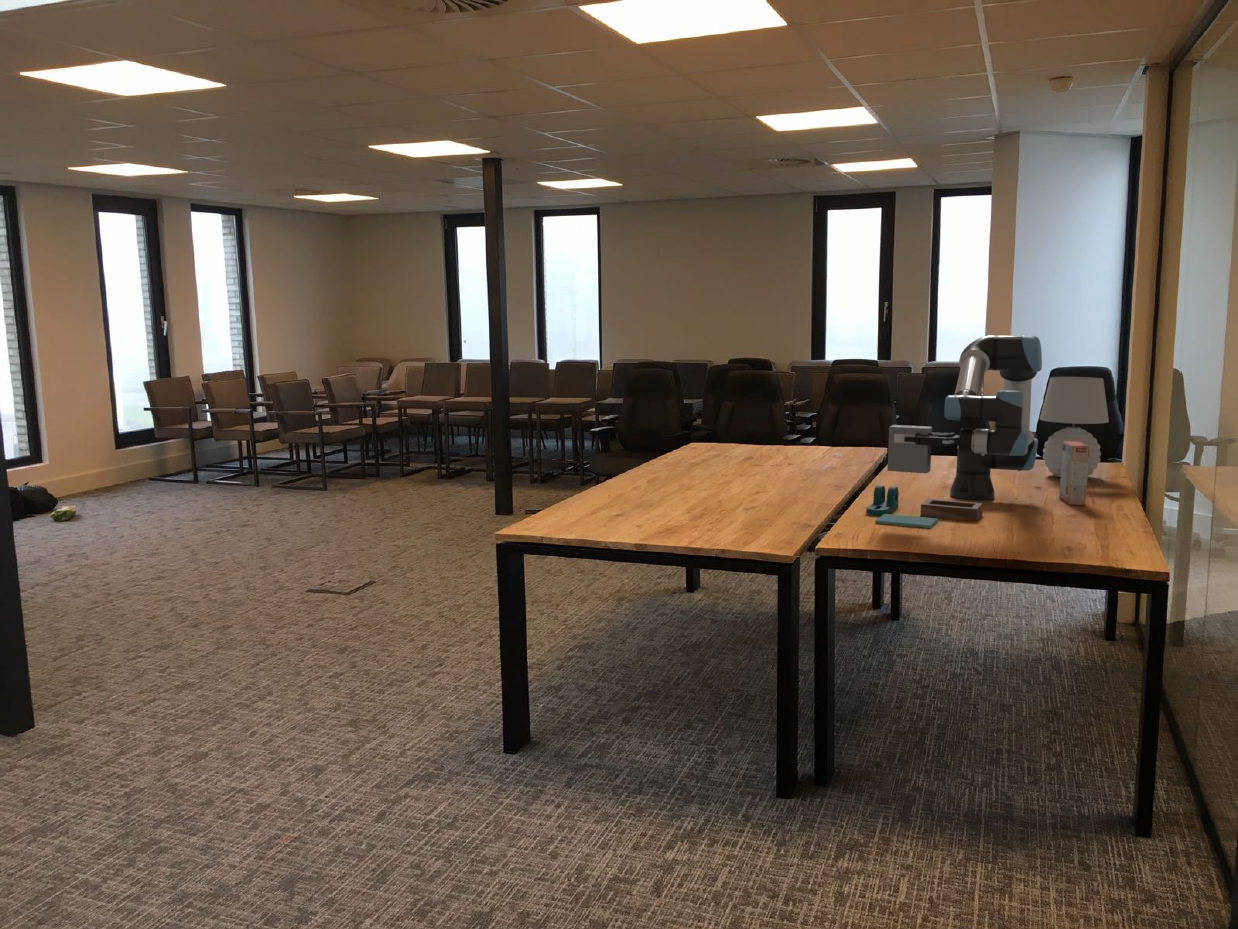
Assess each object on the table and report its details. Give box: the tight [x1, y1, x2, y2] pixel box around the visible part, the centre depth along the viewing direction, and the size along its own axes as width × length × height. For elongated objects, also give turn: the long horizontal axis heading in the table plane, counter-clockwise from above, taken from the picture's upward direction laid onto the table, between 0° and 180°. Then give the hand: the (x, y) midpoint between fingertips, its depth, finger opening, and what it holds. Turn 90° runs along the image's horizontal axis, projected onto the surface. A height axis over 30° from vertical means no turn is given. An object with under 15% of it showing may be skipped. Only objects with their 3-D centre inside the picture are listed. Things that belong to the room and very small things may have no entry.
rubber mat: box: [874, 513, 939, 529], centre depth 316 cm, size 12×17×1 cm
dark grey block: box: [887, 424, 933, 475], centre depth 313 cm, size 6×12×14 cm, turn 62°
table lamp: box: [1039, 376, 1110, 478], centre depth 400 cm, size 25×25×40 cm
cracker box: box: [1058, 441, 1090, 506], centre depth 348 cm, size 14×6×21 cm, turn 168°
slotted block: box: [919, 498, 983, 522], centre depth 326 cm, size 12×18×4 cm, turn 62°
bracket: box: [865, 485, 900, 517], centre depth 334 cm, size 18×7×8 cm, turn 150°
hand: (896, 436), depth 314 cm, fingers closed on dark grey block, 6 cm apart
